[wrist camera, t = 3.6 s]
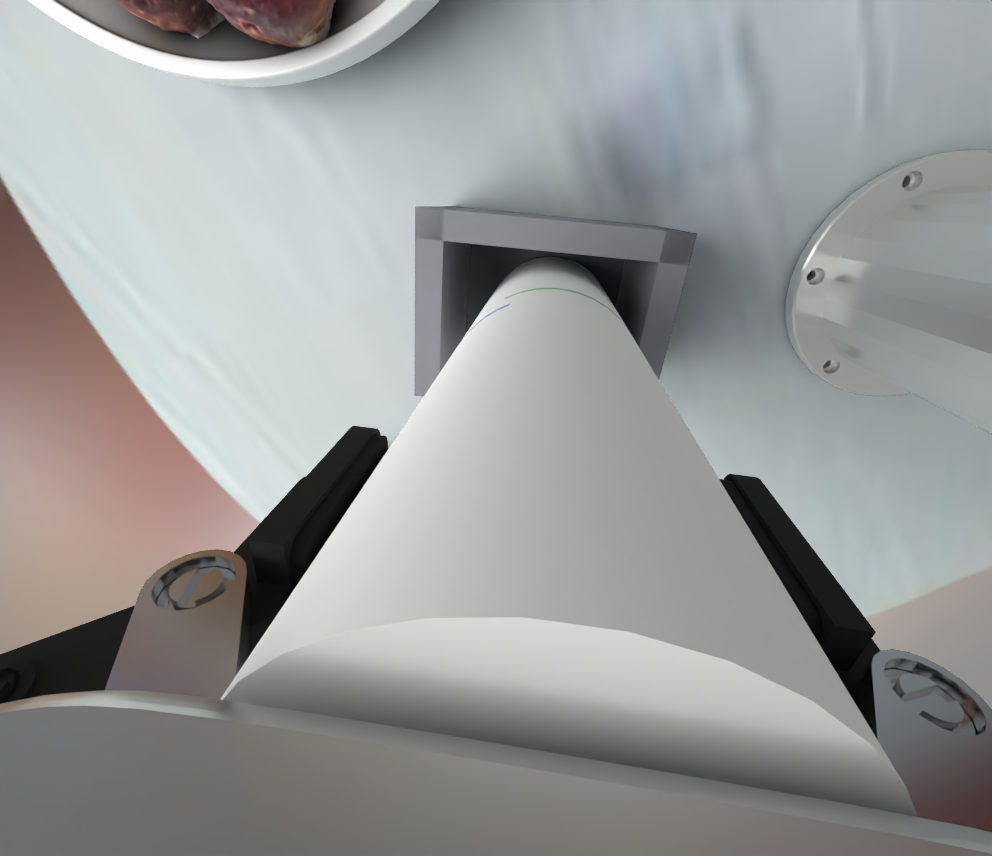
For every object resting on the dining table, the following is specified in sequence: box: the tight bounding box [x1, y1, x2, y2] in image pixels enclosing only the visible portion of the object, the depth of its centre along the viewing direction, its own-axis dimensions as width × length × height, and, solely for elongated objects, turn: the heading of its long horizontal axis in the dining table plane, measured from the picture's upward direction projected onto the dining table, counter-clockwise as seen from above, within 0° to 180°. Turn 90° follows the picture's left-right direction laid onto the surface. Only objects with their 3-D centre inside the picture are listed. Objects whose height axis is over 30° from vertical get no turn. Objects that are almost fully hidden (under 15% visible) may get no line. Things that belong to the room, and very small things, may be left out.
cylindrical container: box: [221, 257, 917, 817], centre depth 16 cm, size 7×7×25 cm
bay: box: [415, 206, 697, 396], centre depth 24 cm, size 11×8×8 cm
